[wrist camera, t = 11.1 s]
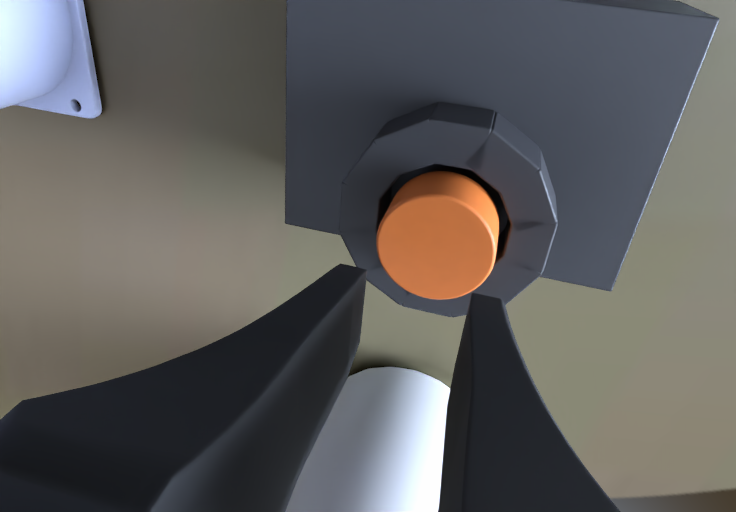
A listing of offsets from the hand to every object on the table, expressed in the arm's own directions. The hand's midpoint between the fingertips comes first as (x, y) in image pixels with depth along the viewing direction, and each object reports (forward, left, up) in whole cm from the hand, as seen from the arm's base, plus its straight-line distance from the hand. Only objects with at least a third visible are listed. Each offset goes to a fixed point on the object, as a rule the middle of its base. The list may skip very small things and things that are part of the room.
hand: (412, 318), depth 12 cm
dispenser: (0, +2, -10) cm, 11 cm away
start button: (0, 0, -5) cm, 5 cm away
